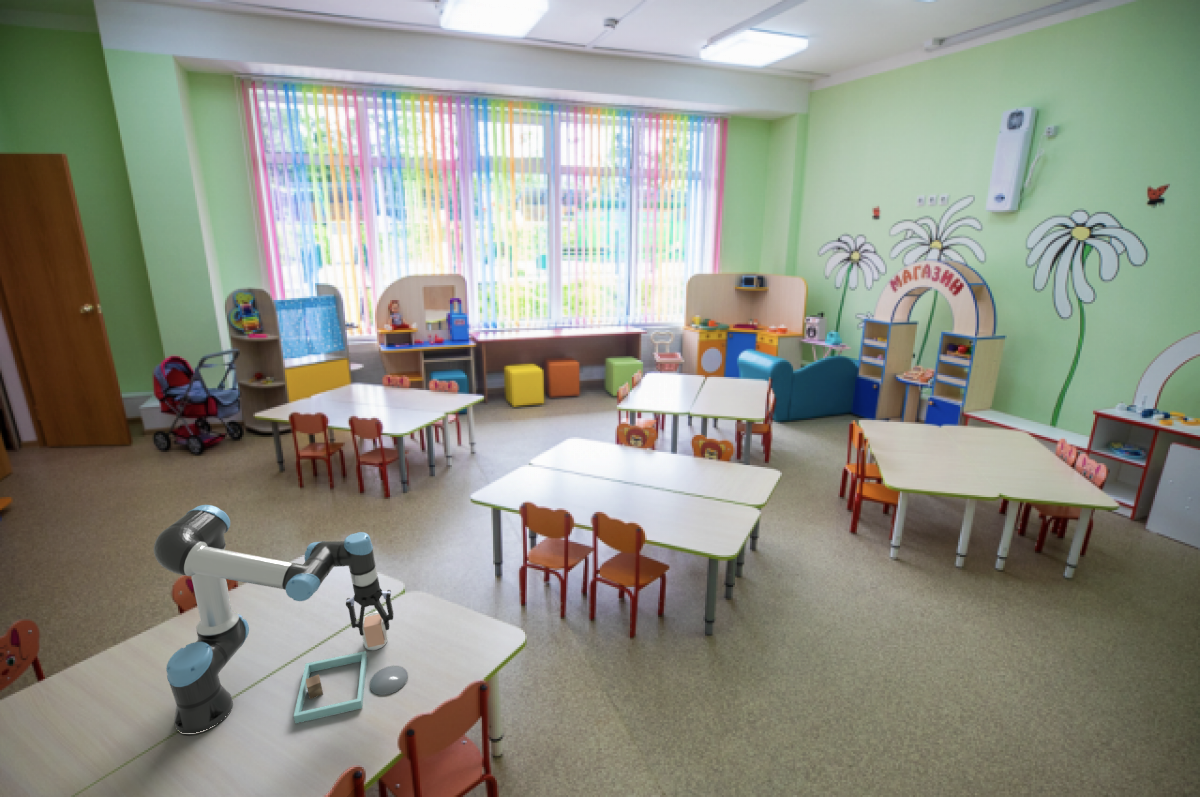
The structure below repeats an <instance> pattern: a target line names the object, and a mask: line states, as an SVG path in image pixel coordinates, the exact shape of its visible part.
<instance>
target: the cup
mask: <svg viewBox="0 0 1200 797" xmlns="http://www.w3.org/2000/svg"><path fill="white" fill-rule="evenodd" d="M378 614H379V613H378V611H377V610H376V611H374V612H370V613H368V614H366V615H364V618H363V623H364V621H365V617H368V616H373V615H378ZM388 636H389V635H388ZM388 636H387V640H385V641H384V644H382V645H377V646H373V647H368V646H367V645H366V644H365V639H364V635H362V643H363V646H364V648H365V649H366V650H369V651H377V650H380V649H381V648H383V647H384V646H385V645H386V644H387V643H388V639H389V637H388Z"/></svg>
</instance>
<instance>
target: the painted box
mask: <svg viewBox="0 0 1200 797" xmlns="http://www.w3.org/2000/svg"><path fill="white" fill-rule="evenodd" d="M364 631H365V636H366V641H367V646H368V647H373V646H377V645H382V644H384V641H385V639H384V634H383V628H382V618H381V616H380V615H379V614H378V615H373V616H368V617H365V621H364Z"/></svg>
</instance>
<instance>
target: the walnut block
mask: <svg viewBox="0 0 1200 797" xmlns="http://www.w3.org/2000/svg"><path fill="white" fill-rule="evenodd" d="M306 684H307V693H308V697H309V698H308V699H309V700H313V699H314V698H317V697H319V696H323V695H324V691H323V688H322V681H321V677H320V674H316V675H313V676H310V677H309V678H308V679H306Z"/></svg>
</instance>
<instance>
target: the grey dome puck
mask: <svg viewBox="0 0 1200 797" xmlns="http://www.w3.org/2000/svg"><path fill="white" fill-rule="evenodd" d="M408 677H409V676H408V671H407V669H406V668H404V667H403V666H401V665H389V666H385V667H382V668H381V669H379V670H378V671H376V672H375V673H374V674H373V675H372V677H371V678H370V682H369V688H370V690H371V692H373V693H374V694H376V695H379V696H387V695H392V694H394V693H396V692H397V691H399V690H401V689H402V688H403V687H404V686H405V685H406V684H407V682H408Z"/></svg>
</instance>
